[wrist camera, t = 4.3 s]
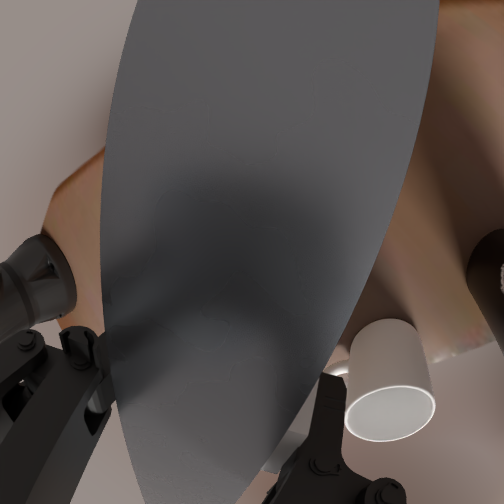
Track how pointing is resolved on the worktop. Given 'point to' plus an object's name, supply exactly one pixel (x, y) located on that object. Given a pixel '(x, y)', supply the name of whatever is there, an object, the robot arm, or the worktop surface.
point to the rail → (246, 216)
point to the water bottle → (489, 281)
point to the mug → (386, 382)
